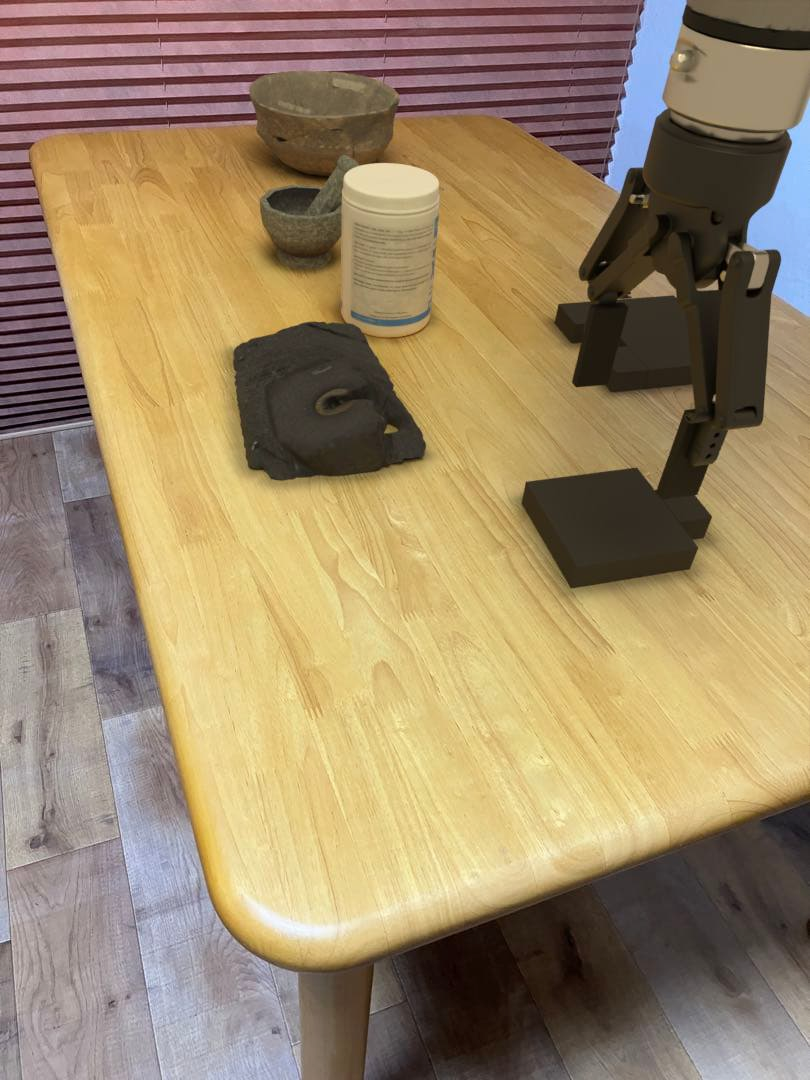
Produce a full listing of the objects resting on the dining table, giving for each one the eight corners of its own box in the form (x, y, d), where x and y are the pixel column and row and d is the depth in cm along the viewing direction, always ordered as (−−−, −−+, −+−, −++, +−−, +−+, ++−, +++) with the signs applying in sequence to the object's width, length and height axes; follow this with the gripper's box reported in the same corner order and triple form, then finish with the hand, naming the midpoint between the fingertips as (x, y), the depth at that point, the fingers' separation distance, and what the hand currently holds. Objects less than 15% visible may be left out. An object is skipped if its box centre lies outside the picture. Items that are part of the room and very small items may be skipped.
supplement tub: (447, 328, 92) (463, 188, 82) (372, 350, 88) (379, 205, 78) (395, 290, 98) (404, 155, 88) (322, 309, 93) (323, 168, 84)
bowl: (222, 156, 125) (217, 80, 118) (333, 133, 136) (334, 62, 129) (312, 204, 114) (312, 124, 107) (425, 174, 125) (431, 100, 119)
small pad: (661, 486, 74) (669, 463, 73) (723, 565, 67) (733, 542, 66) (520, 505, 71) (525, 481, 70) (570, 591, 64) (577, 566, 63)
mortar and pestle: (258, 275, 98) (253, 166, 90) (265, 240, 105) (261, 136, 97) (358, 280, 99) (362, 172, 91) (358, 245, 106) (361, 142, 98)
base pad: (667, 315, 98) (674, 295, 96) (734, 381, 88) (743, 360, 87) (553, 324, 95) (558, 303, 93) (610, 395, 85) (616, 372, 83)
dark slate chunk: (377, 340, 89) (380, 297, 86) (432, 471, 74) (437, 424, 71) (226, 349, 86) (223, 305, 83) (249, 488, 70) (246, 440, 67)
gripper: (572, 56, 56) (517, 349, 70) (802, 211, 38) (668, 559, 53) (675, 58, 58) (601, 343, 72) (939, 206, 40) (773, 543, 55)
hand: (629, 434), depth 62 cm, fingers open, 13 cm apart
